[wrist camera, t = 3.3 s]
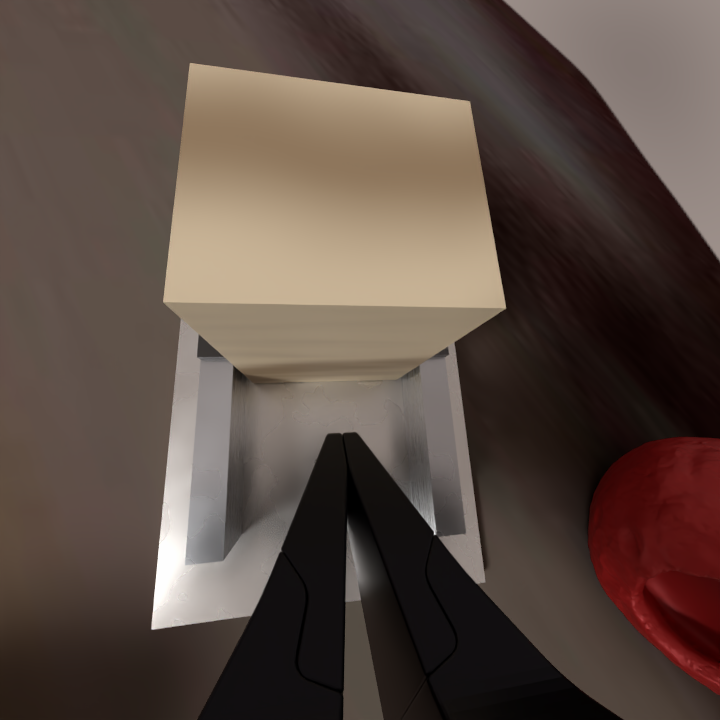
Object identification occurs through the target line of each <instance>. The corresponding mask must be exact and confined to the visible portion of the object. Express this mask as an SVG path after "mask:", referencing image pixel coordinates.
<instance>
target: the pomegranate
mask: <svg viewBox="0 0 720 720" xmlns="http://www.w3.org/2000/svg"><path fill="white" fill-rule="evenodd" d="M588 546H589V550H590V557H591V561H592V563H593V565H594V569H595V572H596V575H597V578H598V580H599V582H600V584H601V586H602V588H603V590H604V591H605V592H606V594H607V595H608V597H609V598H610V599H611V600H612V601H613V602H614V604H615V605H616V606H617V607H618V609H619V610H620V611H621V612H622V613H623V614H624V615H625V617H626V618H627V619H628V620H629V621H630V623H631V624H632V625H633V626H634V627H635V628H636V629H637V630H638V631H639V632H640V633H641V634H642V635H643V636H644V637H645V638H646V639H647V640H648V641H649V642H650V643H652V644H653V645H654V646H655V647H656V648H657V649H659V650H660V651H661V652H662V653H663V654H664V655H665V656H666V657H667V658H668V659H669V660H670V661H672V662H673V663H674V664H675V665H677V666H678V667H680V668H681V669H682V670H683V671H684V672H686V673H687V674H688V675H690V676H691V677H692V678H694V679H695V680H697V681H699V682H700V683H701V684H703V685H705V686H706V687H708V688H709V689H710V690H712V691H713V692H715V693H716V694H718V695H720V439H717V438H701V437H674V438H666V439H660V440H655V441H650V442H647V443H644V444H643V445H641V446H639V447H637V448H634V449H633V450H631V451H629V452H628V453H626V454H625V455H623V456H622V457H621V458H619V459H618V460H617V461H616V462H614V463H613V464H612V465H611V467H610V468H609V469H608V470H607V471H606V473H605V474H604V476H603V477H602V479H601V480H600V482H599V484H598V486H597V488H596V490H595V492H594V495H593V499H592V502H591V505H590V513H589V525H588Z"/></svg>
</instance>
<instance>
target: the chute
mask: <svg viewBox="0 0 720 720" xmlns="http://www.w3.org/2000/svg"><path fill="white" fill-rule="evenodd" d="M345 432H357V433H358V434H359V435H360V437H361V438H362V439H363V441H364V442H365V443H366V444H367V446H368V447H369V448H370V450H371V451H372V452H373V453H374V455H375V456H376V457H377V459H378V460H379V461H380V463H381V464H382V465H383V466H384V468H385V469H386V470H387V472H388V473H389V474H390V475H391V477H392V478H393V479H394V481H395V482H396V483H397V485H398V486H399V487H400V488H401V490H402V491H403V492H404V494H405V495H406V496H407V497H408V499H409V500H410V501H411V503H412V504H413V505H414V507H415V508H416V509H417V510H418V512H419V513H420V514H421V516H422V517H423V518H424V519H425V521H426V522H427V523H428V525H429V526H430V527H431V529H432V530H433V531H434V535H437V536H438V537H439V539H440V540H441V541H442V543H443V544H444V545H445V547H446V548H447V549H448V550H449V552H450V553H451V554H452V555H453V557H454V558H455V559H456V560H457V561H458V563H459V564H460V565H461V566H462V568H463V569H464V570H465V571H466V572H467V573H468V575H469V576H470V577H471V578H472V579H473V580H474V581H475V582H476V583H484V582H485V575H484V567H483V559H482V552H481V544H480V536H479V528H478V521H477V513H476V505H475V497H474V490H473V482H472V474H471V467H470V459H469V451H468V443H467V436H466V428H465V420H464V412H463V405H462V397H461V389H460V381H459V374H458V366H457V358H456V350H455V343H452V344H451V345H449V346H448V347H446V348H445V349H443V350H442V351H440V352H439V353H437V354H436V355H434V356H432V357H431V358H429V359H428V360H426V361H425V362H423V363H422V364H420V365H419V366H417V367H416V368H414V369H413V370H411V371H410V372H408V373H406V374H405V375H403V376H402V377H400V378H399V379H397V380H368V381H325V382H281V383H253V382H251V381H250V380H249V379H248V378H247V377H246V376H245V375H244V374H243V373H241V372H240V371H239V370H238V369H237V368H236V367H235V366H234V365H233V364H231V363H230V362H229V361H228V360H227V359H226V358H225V357H224V356H222V355H221V354H220V353H219V352H218V351H217V350H216V349H215V348H214V347H212V346H211V345H210V344H209V343H208V342H207V341H206V340H205V339H204V338H202V337H201V336H200V335H199V334H198V333H197V332H196V331H195V330H194V329H192V328H191V327H190V326H189V325H188V324H187V323H186V322H185V321H184V320H182V319H181V324H180V335H179V345H178V356H177V366H176V376H175V387H174V397H173V408H172V418H171V429H170V439H169V450H168V460H167V470H166V481H165V491H164V502H163V512H162V523H161V533H160V543H159V554H158V564H157V575H156V585H155V596H154V606H153V617H152V627H151V630H153V629H160V628H167V627H174V626H181V625H188V624H195V623H203V622H210V621H217V620H224V619H231V618H238V617H245V616H252V614H253V611H254V609H255V607H256V605H257V603H258V601H259V599H260V597H261V595H262V593H263V590H264V588H265V586H266V583H267V581H268V579H269V576H270V574H271V572H272V569H273V567H274V564H275V562H276V559H277V557H278V554H279V553H280V552H281V547H282V545H283V542H284V540H285V537H286V535H287V532H288V530H289V527H290V525H291V522H292V520H293V517H294V515H295V512H296V510H297V507H298V505H299V502H300V500H301V497H302V495H303V492H304V490H305V487H306V485H307V482H308V480H309V477H310V475H311V472H312V470H313V467H314V465H315V462H316V460H317V457H318V455H319V452H320V450H321V447H322V445H323V442H324V440H325V437H326V435H327V434H328V433H341V434H343V433H345ZM434 535H433V536H434ZM357 600H361V597H360V592H359V587H358V581H357V576H356V571H355V566H354V560H353V555H352V550H351V545H350V539H349V534H348V529H347V552H346V600H345V602H350V601H357Z"/></svg>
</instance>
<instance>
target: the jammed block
mask: <svg viewBox="0 0 720 720" xmlns="http://www.w3.org/2000/svg"><path fill="white" fill-rule="evenodd" d="M163 303H165V304H166V305H167V306H168V307H169V308H170V309H171V310H172V311H174V312H175V313H176V314H177V315H178V316H179V317H180V318H181V319H182V320H184V321H185V322H186V323H187V324H188V325H189V326H190V327H191V328H192V329H194V330H195V331H196V332H197V333H198V334H199V335H200V336H201V337H202V338H204V339H205V340H206V341H207V342H208V343H209V344H210V345H211V346H212V347H214V348H215V349H216V350H217V351H218V352H219V353H220V354H221V355H222V356H224V357H225V358H226V359H227V360H228V361H229V362H230V363H231V364H233V365H234V366H235V367H236V368H237V369H238V370H239V371H240V372H241V373H243V374H244V375H245V376H246V377H247V378H248V379H249V380H250V381H251V382H253V383H281V382H325V381H368V380H397V379H399V378H400V377H402V376H403V375H405V374H406V373H408V372H410V371H411V370H413V369H414V368H416V367H417V366H419V365H420V364H422V363H423V362H425V361H426V360H428V359H429V358H431V357H432V356H434V355H436V354H437V353H439V352H440V351H442V350H443V349H445V348H446V347H448V346H449V345H451V344H452V343H454V342H455V341H457V340H458V339H460V338H462V337H463V336H465V335H466V334H468V333H469V332H471V331H472V330H474V329H475V328H477V327H478V326H480V325H481V324H483V323H484V322H486V321H488V320H489V319H491V318H492V317H494V316H495V315H497V314H498V313H500V312H501V311H503V310H504V309H506V304H505V299H504V293H503V287H502V282H501V276H500V270H499V265H498V259H497V253H496V248H495V242H494V236H493V231H492V225H491V219H490V214H489V208H488V202H487V197H486V191H485V185H484V180H483V174H482V168H481V163H480V157H479V151H478V146H477V140H476V134H475V129H474V123H473V117H472V112H471V106H470V101H463V100H456V99H448V98H441V97H434V96H427V95H419V94H412V93H405V92H397V91H390V90H383V89H375V88H368V87H361V86H354V85H346V84H339V83H332V82H324V81H317V80H310V79H302V78H295V77H288V76H280V75H273V74H266V73H259V72H251V71H244V70H237V69H229V68H222V67H215V66H207V65H200V64H193V63H190V67H189V76H188V85H187V94H186V103H185V112H184V121H183V130H182V139H181V148H180V157H179V166H178V174H177V183H176V192H175V201H174V210H173V219H172V228H171V237H170V246H169V255H168V264H167V273H166V281H165V290H164V299H163Z"/></svg>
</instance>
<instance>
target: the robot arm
mask: <svg viewBox="0 0 720 720" xmlns="http://www.w3.org/2000/svg"><path fill="white" fill-rule="evenodd" d="M347 529H348V534H349V539H350V545H351V550H352V555H353V560H354V566H355V571H356V576H357V581H358V587H359V592H360V597H361V602H362V608H363V613H364V618H365V623H366V629H367V634H368V639H369V644H370V650H371V655H372V660H373V665H374V670H375V676H376V681H377V686H378V691H379V697H380V702H381V707H382V712H383V718H384V720H623V719H622V718H620V717H619V716H617V715H616V714H614V713H613V712H611V711H610V710H608V709H607V708H605V707H604V706H602V705H601V704H599V703H598V702H597V701H595V700H594V699H592V698H591V697H589V696H588V695H587V694H585V693H584V692H583V691H582V690H580V689H579V688H578V687H576V686H575V685H574V684H573V683H572V682H571V681H569V680H568V679H567V678H566V677H565V676H564V675H563V674H561V673H560V672H559V671H558V670H557V669H556V668H555V667H554V666H553V665H552V664H551V663H550V662H549V661H548V660H547V659H546V658H545V657H544V656H543V655H542V654H541V653H540V652H539V650H538V649H537V648H536V647H535V646H534V645H533V644H532V643H531V642H530V641H529V640H528V639H527V638H526V637H525V635H524V634H523V633H522V632H521V631H520V630H519V629H518V628H517V627H516V626H515V625H514V624H513V623H512V621H511V620H510V619H509V618H508V617H507V616H506V615H505V614H504V613H503V612H502V611H501V610H500V609H499V608H498V606H497V605H496V604H495V603H494V602H493V601H492V600H491V599H490V598H489V597H488V596H487V595H486V594H485V592H484V591H483V590H482V589H481V588H480V587H479V586H478V585H477V583H476V582H475V581H474V580H473V579H472V578H471V577H470V576H469V575H468V573H467V572H466V571H465V570H464V569H463V568H462V566H461V565H460V564H459V563H458V561H457V560H456V559H455V558H454V557H453V555H452V554H451V553H450V552H449V550H448V549H447V548H446V547H445V545H444V544H443V543H442V541H441V540H440V539H439V537H438V536H437V535H434V531H433V530H432V529H431V527H430V526H429V525H428V523H427V522H426V521H425V519H424V518H423V517H422V516H421V514H420V513H419V512H418V510H417V509H416V508H415V507H414V505H413V504H412V503H411V501H410V500H409V499H408V497H407V496H406V495H405V494H404V492H403V491H402V490H401V488H400V487H399V486H398V485H397V483H396V482H395V481H394V479H393V478H392V477H391V475H390V474H389V473H388V472H387V470H386V469H385V468H384V466H383V465H382V464H381V463H380V461H379V460H378V459H377V457H376V456H375V455H374V453H373V452H372V451H371V450H370V448H369V447H368V446H367V444H366V443H365V442H364V441H363V439H362V438H361V437H360V435H359V434H358V433H357V432H345V433H343V434H341V433H328V434H327V435H326V437H325V440H324V442H323V445H322V447H321V450H320V452H319V455H318V457H317V460H316V462H315V465H314V467H313V470H312V472H311V475H310V477H309V480H308V482H307V485H306V487H305V490H304V492H303V495H302V497H301V500H300V502H299V505H298V507H297V510H296V512H295V515H294V517H293V520H292V522H291V525H290V527H289V530H288V532H287V535H286V537H285V540H284V542H283V545H282V547H281V552H280V553H279V554H278V557H277V559H276V562H275V564H274V567H273V569H272V572H271V574H270V576H269V579H268V581H267V583H266V586H265V588H264V590H263V593H262V595H261V597H260V599H259V601H258V603H257V605H256V607H255V609H254V611H253V614H252V616H251V618H250V620H249V622H248V624H247V626H246V628H245V630H244V632H243V634H242V636H241V637H240V639H239V641H238V643H237V645H236V647H235V649H234V651H233V653H232V655H231V656H230V658H229V660H228V662H227V664H226V666H225V668H224V670H223V672H222V674H221V675H220V677H219V679H218V681H217V683H216V685H215V687H214V689H213V691H212V693H211V695H210V696H209V698H208V700H207V702H206V704H205V706H204V708H203V710H202V712H201V714H200V715H199V717H198V719H197V720H343V690H344V648H345V600H346V552H347ZM433 535H434V536H433Z"/></svg>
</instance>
